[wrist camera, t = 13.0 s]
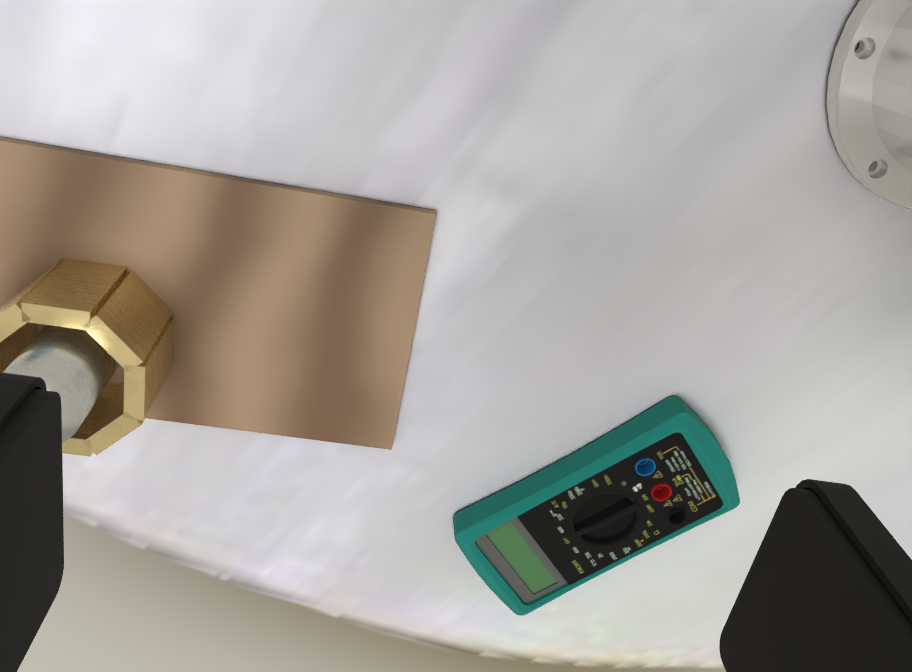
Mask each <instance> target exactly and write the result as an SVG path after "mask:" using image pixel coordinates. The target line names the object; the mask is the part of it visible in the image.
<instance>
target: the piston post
mask: <svg viewBox="0 0 912 672" xmlns="http://www.w3.org/2000/svg"><path fill="white" fill-rule="evenodd" d="M119 365H120V364H119V363H118V362H117V361H116V360H115V359H114V358H113V357H112V356H111V355H110V354H109V353H108V352H107V351H106V350H105V349H104V348H103V347H102V346H101V345H100V344H99V343H98V342H97V341H96V340H95V339H94V338H93V337H91V336H90V335H89V334H88V333H87V332H86V331H85V330H81V329H74V328H66V327H59V326H52V325H45V326H44V327H43V328H42V330H41V331H40V332H39V333H38V334H37V335H36V336H35V337H34V338H33V340H32V341H31V342H30V343H29V344H28V345H27V346H26V347H25V348H24V350H23V351H22V352H21V353H20V354H19V355H18V356H17V357H16V358H15V360H14V361H13V362H12V363H11V364H10V365H9V366H8V367H7V368H6V370H5V371H4V373H11V374H19V375H26V376H34V377H41V378H42V379H43V380H44V381H45V384H46V388H47V391H55V392H58V393H59V394H60V397H61V410H62V442H64V441H66V440H68V439H69V438H70V437H72V436H73V435H74V434H75V433H76V432H77V430H78V429H79V427H80V426H81V424H82V422H83V421H84V419H85V418H86V416H87V415H88V413H89V412H90V410H91V409H92V407H93V406H94V404H95V402H96V401H97V399H98V398H99V396H100V395H101V393H102V392H103V390H104V389H105V387H106V386H107V384H108V382H109V381H110V379H111V378H112V376H113V375H114V373H115V372H116V370H117V369H118V367H119Z"/></svg>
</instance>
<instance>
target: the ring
mask: <svg viewBox="0 0 912 672" xmlns="http://www.w3.org/2000/svg"><path fill="white" fill-rule="evenodd" d="M172 313H173V312H172V311H171V310H170V309H169V308H168V307H167V306H166V304H165V303H164V302H163V301H162V300H161V299H160V298H159V297H158V296H157V295H156V294H155V293H154V292H153V291H152V290H151V289H150V288H149V287H148V285H147V284H146V283H145V282H144V281H143V280H142V279H141V278H140V277H139V276H138V275H137V274H136V273H135V272H134V271H133V270H131V271H130V272H129V273H127V267H124V266H118V265H111V264H104V263H97V262H91V261H84V260H77V259H70V258H66V259H65V260H64V261H63V260H62V259H61V260H60V261H58V262H57V263H56V264H54V265H53V266H52V267H50V268H49V269H48V270H46V271H45V272H44V273H42V274H41V275H40V276H38V277H37V278H36V279H34V280H33V281H32V282H30V283H29V284H28V285H26V286H25V287H24V288H22V289H21V290H20V291H19V292H18V293H16V294H15V295H14V296H13V297H12V298H11V299H10V300H9V301H8V302H7V303H6V304H5V305H4V306H3V307H2V308H1V309H0V372H4V371H5V370H6V368H7V367H8V366H9V365H10V364H11V363H12V362H13V361H14V360H15V358H16V357H17V356H18V355H19V354H20V353H21V352H22V351H23V350H24V348H25V347H26V346H27V345H28V344H29V343H30V342H31V341H32V340H33V338H34V337H35V336H36V335H37V334H38V324H44V325H52V326H59V327H66V328H74V329H81V330H85V331H86V332H87V333H88V334H89V335H90V336H91V337H93V338H94V339H95V340H96V341H97V342H98V343H99V344H100V345H101V346H102V347H103V348H104V349H105V350H106V351H107V352H108V353H109V354H110V355H111V356H112V357H113V358H114V359H115V360H116V361H117V362H118V363H119V364H120V365H121V366H122V367H123V368H124V381H123V382H122V383H114V382H108V384H107V386H106V387H105V389H104V390H103V392H102V393H101V395H100V396H99V398H98V399H97V401H96V402H95V404H94V406H93V407H92V409H91V410H90V412H89V413H88V415H87V416H86V418H85V419H84V421H83V422H82V424H81V426H80V427H79V429H78V430H77V432H76V433H75V434H74V435H73V436H72V437H70V438H69V439H68V440H66V441H64V442H62V453H66V454H75V455H83V456H91V455H92V454H93V452H94V453H95V454H96V455H98V454H99V453H100V452H102V451H103V450H105V449H106V448H108V447H109V446H111V445H112V444H114V443H115V442H117V441H118V440H120V439H121V438H123V437H124V436H126V435H127V434H129V433H130V432H132V431H133V430H135V429H136V428H137V427H139V426H140V425H142V423H143V421H144V419H145V417H146V415H147V414H148V412H149V410H150V408H151V406H152V404H153V402H154V400H155V398H156V396H157V395H158V393H159V391H160V389H161V387H162V385H163V383H164V381H165V379H166V378H167V376H168V374H169V372H170V370H171V368H172V366H173V347H174V324H175V317H171V315H172Z"/></svg>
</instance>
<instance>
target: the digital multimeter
mask: <svg viewBox="0 0 912 672" xmlns="http://www.w3.org/2000/svg"><path fill="white" fill-rule="evenodd" d="M629 456H630V457H629ZM627 457H628V458H627ZM625 458H626V459H625ZM623 459H624V460H623ZM621 460H622V461H621ZM614 464H615V465H614ZM612 465H613V466H612ZM610 466H611V467H610ZM608 467H609V468H608ZM606 468H607V469H606ZM601 471H602V472H601ZM599 472H600V473H599ZM597 473H598V474H597ZM595 474H596V475H595ZM593 475H594V476H593ZM591 476H592V477H591ZM589 477H590V478H589ZM586 479H587V480H586ZM584 480H585V481H584ZM582 481H583V482H582ZM580 482H581V483H580ZM578 483H579V484H578ZM576 484H577V485H576ZM573 486H574V487H573ZM571 487H572V488H571ZM569 488H570V489H569ZM567 489H568V490H567ZM565 490H566V491H565ZM563 491H564V492H563ZM558 494H559V495H558ZM556 495H557V496H556ZM554 496H555V497H554ZM552 497H553V498H552ZM550 498H551V499H550ZM548 499H549V500H548ZM545 501H546V502H545ZM543 502H544V503H543ZM541 503H542V504H541ZM637 503H638V504H637ZM739 503H740V499H739V494H738V489H737V484H736V480H735V477H734V474H733V471H732V468H731V465H730V462H729V460H728V458H727V457H726V455H725V453H724V451H723V450H722V448H721V446H720V444H719V443H718V441H717V440H716V438H715V437H714V435H713V433H712V432H711V430H710V429H709V427H708V426H707V425H706V424H705V423H704V422H703V420H702V419H701V418H700V417H699V416H698V415H697V414H696V413H695V412H694V411H693V410H692V409H691V408H690V407H689V406H688V405H687V404H686V403H685V402H683V401H682V400H681V399H680V398H679V397H678V396H671V397H668V398H666V399H665V400H663V401H661V402H660V403H658V404H656V405H655V406H653V407H651V408H650V409H648V410H647V411H645V412H643V413H642V414H640V415H638V416H637V417H635V418H633V419H632V420H630V421H629V422H627V423H625V424H624V425H622V426H620V427H618V428H616V429H615V430H613V431H611V432H609V433H607V434H606V435H604V436H602V437H600V438H599V439H597V440H595V441H594V442H592V443H590V444H588V445H587V446H585V447H583V448H581V449H580V450H578V451H576V452H575V453H573V454H571V455H569V456H567V457H565V458H563V459H561V460H559V461H558V462H556V463H554V464H552V465H550V466H548V467H546V468H544V469H542V470H541V471H539V472H537V473H535V474H533V475H531V476H529V477H528V478H526V479H524V480H522V481H520V482H518V483H516V484H514V485H512V486H510V487H508V488H506V489H504V490H502V491H500V492H497V493H495V494H493V495H491V496H489V497H487V498H485V499H483V500H481V501H479V502H477V503H475V504H473V505H471V506H469V507H467V508H465V509H463V510H461V511H459V512H457V513H456V514H455V515H454V517H453V525H454V535H455V541H456V543H457V544H458V546H459V547H460V549H461V550H462V552H463V553H464V555H465V556H466V558H467V559H468V561H469V562H470V564H471V565H472V566H473V568H474V569H475V571H476V572H477V573H478V575H479V576H480V577H481V578H482V580H483V581H484V582H485V583H486V584H487V586H488V587H489V588H490V589H491V590H492V591H493V592H494V593H495V594H496V595H497V596H498V597H499V598H500V599H501V600H502V601H503V602H504V603H505V604H506V605H507V606H508V607H509V608H510V609H511V610H512V611H513V612H514V613H515V614H517V615H526V614H528V613H530V612H532V611H533V610H535V609H537V608H539V607H541V606H543V605H544V604H546V603H548V602H550V601H552V600H554V599H555V598H557V597H559V596H561V595H563V594H564V593H566V592H568V591H570V590H572V589H574V588H575V587H577V586H579V585H581V584H583V583H585V582H587V581H589V580H591V579H593V578H595V577H596V576H598V575H600V574H602V573H604V572H606V571H608V570H610V569H612V568H614V567H616V566H618V565H620V564H622V563H624V562H626V561H627V560H629V559H631V558H633V557H635V556H637V555H639V554H641V553H643V552H645V551H647V550H649V549H651V548H653V547H655V546H658V545H660V544H662V543H664V542H666V541H668V540H670V539H672V538H674V537H676V536H678V535H680V534H682V533H684V532H686V531H688V530H690V529H692V528H694V527H696V526H698V525H700V524H703V523H705V522H707V521H709V520H711V519H713V518H715V517H717V516H720V515H722V514H724V513H726V512H728V511H730V510H732V509H734V508H736V507H737V506H738V505H739ZM539 504H540V505H539ZM537 505H538V506H537ZM535 506H536V507H535ZM639 507H640V508H639ZM530 509H531V510H530ZM528 510H529V511H528ZM526 511H527V512H526ZM524 512H525V513H524ZM578 540H579V541H578ZM594 547H596V548H594Z"/></svg>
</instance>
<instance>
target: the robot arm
mask: <svg viewBox="0 0 912 672" xmlns="http://www.w3.org/2000/svg"><path fill="white" fill-rule="evenodd" d="M858 41H859V43H860V44H859V48H858V49H857V50H856V51H855V46H856V45H857V43H858ZM827 113H828V120H829V128H830V132H831V135H832V138H833V141H834V144H835V146H836V149H837V152H838V154H839V156H840V157H841V159H842V160H843V162H844V163H845V165H846V167H847V168H848V170H849V171H850V173H851V174H852V175H853V176H854V177H856V178H857V179H858V180H859V181H860V182H861V183H862V184H863V185H864V186H865V187H866V188H867V189H869V190H871V191H873V192H874V193H876V194H877V195H879V196H881V197H882V198H884V199H886V200H888V201H891V202H893V203H895V204H898V205H900V206H902V207H905V208H909V209H912V0H860V1H859V2H858V4H857V5H856V7H855V9H854V10H853V12H852V14H851V15H850V17H849V18H848V20H847V22H846V25H845V27H844V29H843V32H842V34H841V36H840V39H839V41H838V44H837V46H836V48H835V52H834V56H833V60H832V64H831V68H830V73H829V77H828V90H827ZM872 163H873V164H872ZM871 164H872V166H871V167H870V165H871ZM869 167H870V168H869ZM63 544H64V543H63V476H62V410H61V397H60V394H59V393H58V392H55V391H47V388H46V384H45V381H44V380H43V379H42V378H41V377H34V376H26V375H19V374H11V373H4V372H0V672H17V670H18V668H19V666H20V664H21V662H22V660H23V659H24V657H25V655H26V653H27V651H28V649H29V647H30V645H31V643H32V641H33V639H34V637H35V636H36V634H37V632H38V630H39V628H40V625H41V624H42V622H43V620H44V618H45V616H46V614H47V612H48V610H49V609H50V607H51V605H52V603H53V601H54V599H55V597H56V594H57V592H58V590H59V587H60V583H61V580H62V575H63V569H64V545H63ZM720 655H721V659H722V662H723V665H724V667H725V669H726V671H727V672H912V560H911V559H910V557H909V556H908V555H907V554H906V552H905V551H904V550H903V549H902V547H901V546H900V545H899V544H898V543H897V541H896V540H895V539H894V538H893V536H892V535H891V534H890V533H889V531H888V530H887V529H886V528H885V526H884V525H883V524H882V523H881V521H880V520H879V519H878V518H877V517H876V515H875V514H874V513H873V512H872V510H871V509H870V508H869V507H868V505H867V504H866V503H865V502H864V500H863V499H862V498H861V497H860V495H859V494H858V493H857V492H856V491H855V490H854V489H853V488H852V487H851V486H849V485H846V484H840V483H833V482H825V481H818V480H810V479H807V480H803V481H801V482H800V483H799V484H798V485H797V486H796V488H791V489H788V490H787V491H786V492H785V493H784V495H783V497H782V499H781V501H780V503H779V506H778V508H777V510H776V512H775V514H774V517H773V519H772V521H771V523H770V526H769V528H768V530H767V532H766V535H765V537H764V539H763V541H762V543H761V546H760V548H759V550H758V552H757V555H756V557H755V559H754V561H753V564H752V566H751V568H750V570H749V572H748V575H747V577H746V579H745V581H744V584H743V586H742V588H741V590H740V593H739V595H738V597H737V599H736V602H735V604H734V606H733V608H732V610H731V613H730V615H729V617H728V619H727V622H726V624H725V626H724V628H723V631H722V634H721V637H720Z"/></svg>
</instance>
